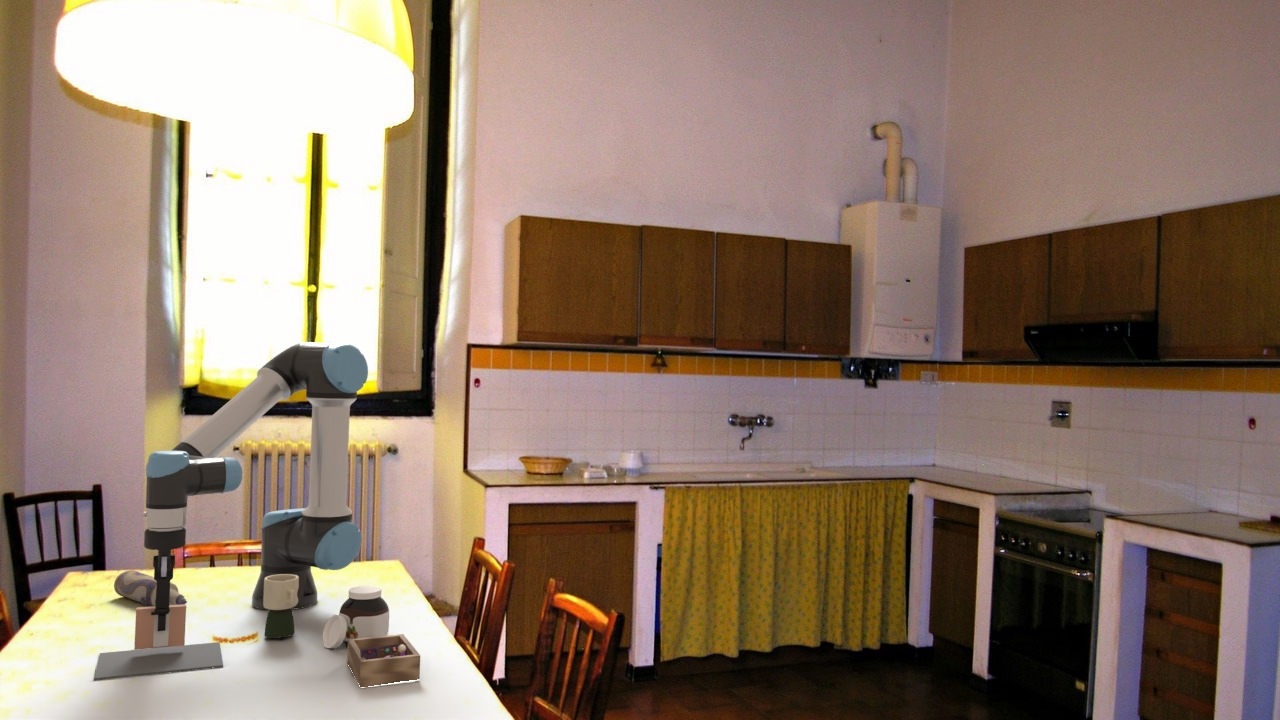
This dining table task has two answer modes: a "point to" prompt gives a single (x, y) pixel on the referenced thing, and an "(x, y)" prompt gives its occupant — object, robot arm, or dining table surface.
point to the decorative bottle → (143, 588)
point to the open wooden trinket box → (383, 661)
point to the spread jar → (358, 617)
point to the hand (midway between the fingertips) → (160, 644)
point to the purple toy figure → (373, 652)
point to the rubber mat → (158, 660)
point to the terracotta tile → (146, 627)
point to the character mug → (280, 604)
